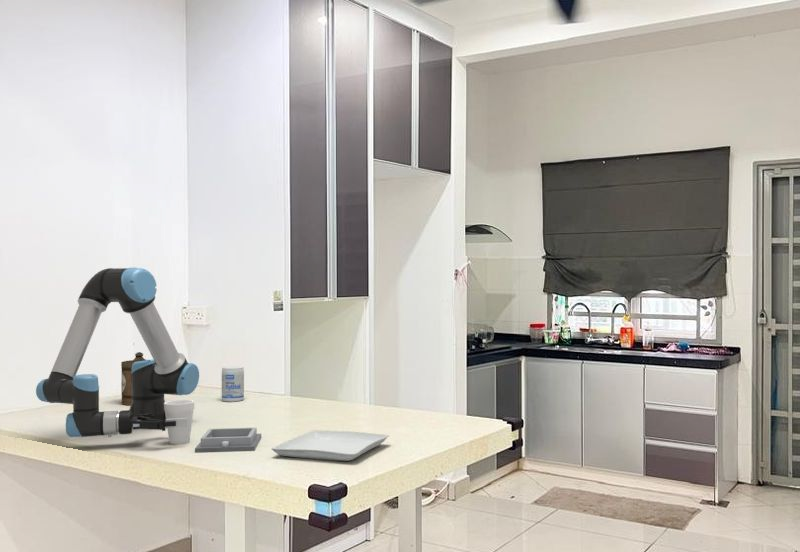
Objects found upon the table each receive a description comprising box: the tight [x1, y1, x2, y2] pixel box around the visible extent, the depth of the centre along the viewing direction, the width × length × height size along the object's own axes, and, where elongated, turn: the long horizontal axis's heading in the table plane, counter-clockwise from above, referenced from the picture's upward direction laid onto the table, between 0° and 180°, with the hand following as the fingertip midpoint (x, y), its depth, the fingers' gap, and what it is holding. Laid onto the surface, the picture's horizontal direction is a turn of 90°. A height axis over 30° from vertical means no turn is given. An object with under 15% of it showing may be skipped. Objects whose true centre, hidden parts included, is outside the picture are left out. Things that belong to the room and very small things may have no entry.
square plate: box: [271, 429, 390, 462], centre depth 231 cm, size 27×27×4 cm
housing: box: [194, 426, 262, 453], centre depth 243 cm, size 20×18×4 cm
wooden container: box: [120, 351, 146, 406], centre depth 329 cm, size 15×15×22 cm
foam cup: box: [164, 399, 195, 445], centre depth 247 cm, size 10×9×13 cm
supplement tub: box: [221, 365, 245, 403], centre depth 332 cm, size 10×10×15 cm
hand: (187, 418), depth 248 cm, fingers open, 13 cm apart
